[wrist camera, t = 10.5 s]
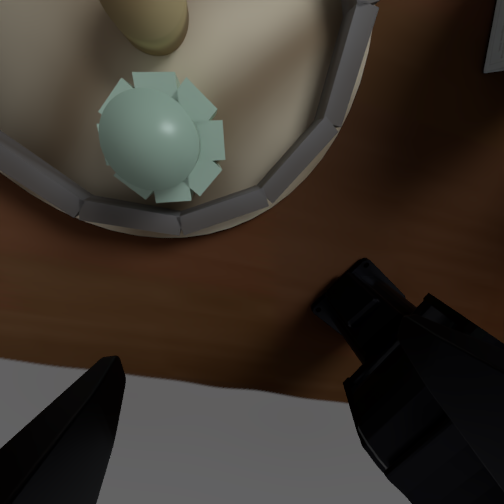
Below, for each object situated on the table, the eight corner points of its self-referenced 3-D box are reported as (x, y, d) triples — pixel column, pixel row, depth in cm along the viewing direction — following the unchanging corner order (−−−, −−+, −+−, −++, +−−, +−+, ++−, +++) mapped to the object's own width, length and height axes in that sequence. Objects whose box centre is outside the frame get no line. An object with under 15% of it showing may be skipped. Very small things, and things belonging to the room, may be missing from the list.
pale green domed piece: (242, 140, 16) (259, 138, 10) (181, 212, 17) (168, 245, 12) (158, 55, 14) (124, -3, 8) (95, 145, 15) (28, 147, 9)
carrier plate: (439, 26, 16) (496, -3, 13) (195, 291, 21) (192, 319, 17) (42, -763, 7) (-94, -1497, 4) (-231, 13, 12) (-396, -35, 9)
